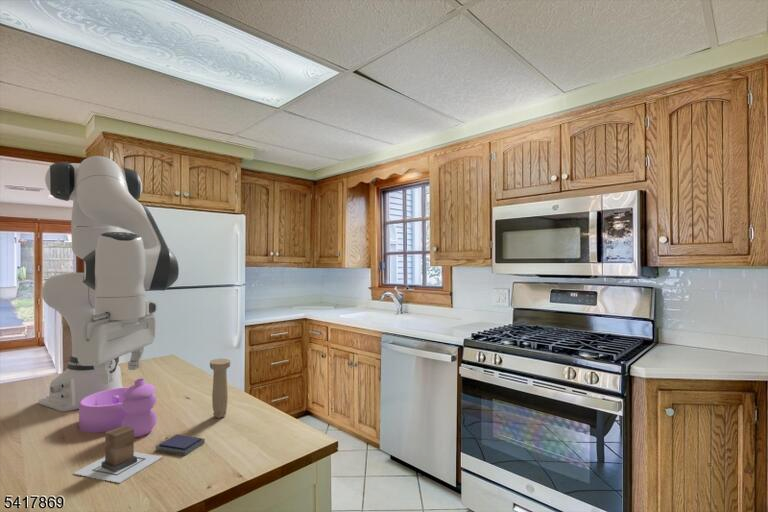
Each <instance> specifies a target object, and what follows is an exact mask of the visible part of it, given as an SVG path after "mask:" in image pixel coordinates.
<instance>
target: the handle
mask: <svg viewBox="0 0 768 512" xmlns="http://www.w3.org/2000/svg"><path fill="white" fill-rule="evenodd" d="M209 367H210V369H211V370H213V378H212V392H211V393H212V395H211V398H212V399H211V401H212V402H211V403H212V411H213V414H212V415H213V418H215V419H221V418H224V417H226V415H227V409H228V399H229V397H228V396H229V395H228V392H229V391H228V378H227V377H228V376H227V375H228V374H227V371H228V370H227V369H228V368H230V367H231V360H230V359H228V358H215V359H211V360H210V361H209Z"/></svg>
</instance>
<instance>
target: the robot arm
mask: <svg viewBox="0 0 768 512" xmlns="http://www.w3.org/2000/svg"><path fill="white" fill-rule="evenodd" d="M44 180H45V181H44V182H45V186H46V188H47V190H48V191H49V194H50V195H51V196H52V197H53V198H54V199H58V200H61V201H67V202H69V201H73V204H72V210H71V220H70V222H71V227H70V228H71V232H70V233H71V250H72V252H73V254H74V255H75V256H76V257H78V258H79V259H81V260H83V269H84V270H83V272H68V273H67V272H66V273H61V274H60V273H59V274H57V275H56V274H55V275H51V276H50V277H49V278H48V279H46V281H45V282H44V283H43V286H42V288H41V296H42V299H43V301H44V302H45V304H46V305H47V306H49V307H50V308H52V309H54V310H55V311H57V312H58V313H59V314H60V315H61V316H62V317H63V318H64V319H65V321H66V323H67V325H68V327H69V329H70V334H71V335H70V336H71V352H72V353H71V356H69V357H65V362H66V363H67V366H66V369H65V370H64V371H63V372H61V373H60V374H59V375H58V376H56V377H55V378H54V379H52V381H51V382H50V384H49V390H48V394H47V395H46V396H43V397H41V398H40V399H38V402H37V403H38V404H39V405H42V406H43V407H44V406H45V407H47V408H51V409H53V410H56V411H58V412H68V411H73V410H79V402H80V400H82V399H83V398H85V397H87V396H89V395H91V394H94V393H97V392H101V391H105V390H110V389H115V388H123V387H124V386H123V383H122V380H123V379H122V371H121V367H120V365H119V363H120V357H123V356H125V355H127V354H129V353H131V356H130V360H129V361H128V362H127V369H128V371H135V370H138V369H139V368H140V367H141V360H142V357H143V354H144V347H147V346H149V345H152V344H153V343H154V341H155V338H156V335H157V334H156V333H157V332H156V330H157V317H156V314H155V313H157V312H158V304H157V302H155V301H151V300H149V299H148V298H146V297H147V296H146V295H147V292H146V290H147V291H148V290H149V291H162V292H163V291H165V290H167V289H169V288H170V287H172V285H174V284H175V283H176V281H177V280H178V279H179V273H180V272H179V262H178V259H177V258H176V256H175V254H174V253H173V251H172V250H171V248H169V246H168V244H167V242H166V241H165V238H164V236H163V234H162V232H161V230H160V229H159V226H158V224H157V223H156V220H155V218H154V217H153V215H152V212H151V211H150V209H149V208H148V207H147V206H146V205H145V204H143V203H140V202H139V201H138V200H139V199H140V196H141V194H142V192H143V182H142V180H141V176H140V175H139V173H138V172H137V171H136V170H134V169H131V168H127V167H123V168H122V167H120V166H119V164H118V163H117V162H116V161H115V160H113V159H111V158H108V157H106V156H102V155H93V156H89V157H86V158H85V159H83V160H82V161H81V162H79V163H76V162H72V163H71V162H68V161H59V162H54V163H52V164H51V165H50V166H49V168H48V170H47V171H46V174H45V177H44ZM117 228H120V229H123V230H126V231H129V232H125V231H124V232H123V231H118V229H117Z"/></svg>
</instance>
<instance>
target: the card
mask: <svg viewBox="0 0 768 512" xmlns="http://www.w3.org/2000/svg"><path fill="white" fill-rule="evenodd" d="M134 456H135V457H137V462H136V463H134V464H131V465H129V466H127V467H125V468H123V469H120V470H118V471H116V472H112V471H110V470H107V469H105V468H103V467H101V466H102V462H103V461H105V456H103V457H102V458H100V459H98V460H96V461H94V462H91V463H90V464H87V465H86V466H84V467H82V468H81V469H79V470H76V471H74V472H73V473H72V475H77V476H80V475H81V476H82V477H85V476H86V478H90V479H95V478H96V480H100V479H101V480H100V481H105V480H106V481H105V482H110V481H111V483H115V482H116V483H115V484H121V483H123V482H124V480H125V481H127V480H128V479H129V478H131V477H133V476H135V475H136V474H138V473H140V472H141V471H143V470H144V469H146V468H147V467H149V466H151V465H153V464H154V463H156V462H157V461H159V460H161V459H162V458H163V456H162V455H155V454H149V453H142V452H137V451H134ZM81 476H80V477H81Z"/></svg>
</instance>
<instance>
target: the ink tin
mask: <svg viewBox="0 0 768 512" xmlns="http://www.w3.org/2000/svg"><path fill="white" fill-rule="evenodd" d="M205 444H206V443H205V438H202V437H197V436H196V437H195V436H189V435H183V434H175V435H173V436H171V437H170V438H168V439H166V440H164V441H162V442H161V443H159V444H157V445H155V451H156V452H161V453H165V454H166V453H168V454H173V455H179V456H184V457H185V456H187V455H188V454H189V453H191V452H193V451H194V450H196V449H198V448H199V447H201V446H202V445H205Z"/></svg>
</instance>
